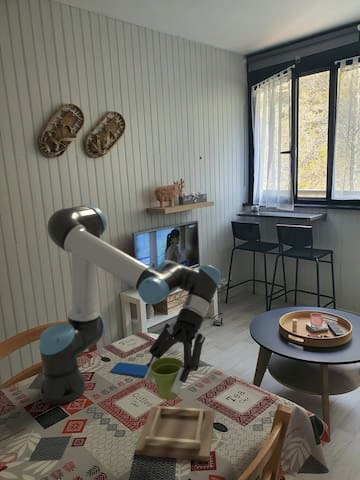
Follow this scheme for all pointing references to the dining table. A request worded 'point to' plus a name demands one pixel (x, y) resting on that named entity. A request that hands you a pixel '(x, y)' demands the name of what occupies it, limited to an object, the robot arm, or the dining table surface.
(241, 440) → the dining table surface
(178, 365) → the plant pot
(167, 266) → the robot arm
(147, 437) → the pot stand
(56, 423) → the dining table surface
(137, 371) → the smartphone
